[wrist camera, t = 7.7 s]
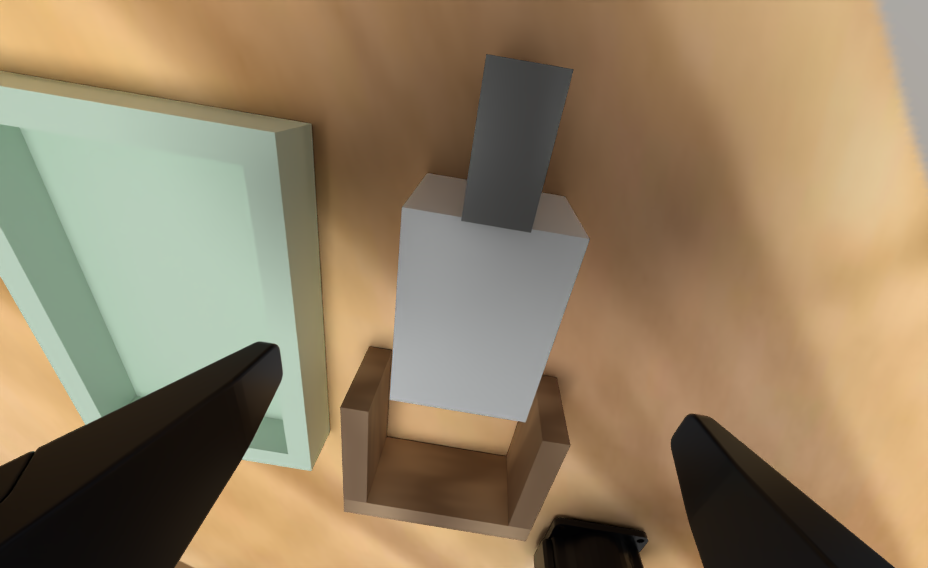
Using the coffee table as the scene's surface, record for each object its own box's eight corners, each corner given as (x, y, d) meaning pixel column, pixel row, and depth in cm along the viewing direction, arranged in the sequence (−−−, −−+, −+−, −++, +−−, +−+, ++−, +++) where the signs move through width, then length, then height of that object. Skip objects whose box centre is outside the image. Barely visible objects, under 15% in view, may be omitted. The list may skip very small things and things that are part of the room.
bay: (556, 377, 19) (570, 445, 15) (521, 471, 23) (525, 541, 19) (369, 346, 19) (340, 407, 15) (367, 445, 23) (344, 511, 19)
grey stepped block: (598, 80, 12) (650, 82, 8) (519, 349, 18) (526, 428, 14) (439, 53, 12) (409, 40, 8) (412, 331, 18) (387, 405, 14)
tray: (311, 123, 14) (274, 132, 11) (330, 431, 22) (311, 470, 20) (-18, 67, 13) (-121, 65, 11) (132, 399, 22) (91, 434, 20)
